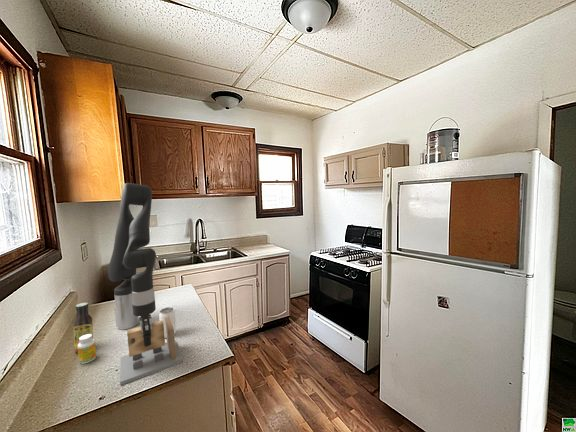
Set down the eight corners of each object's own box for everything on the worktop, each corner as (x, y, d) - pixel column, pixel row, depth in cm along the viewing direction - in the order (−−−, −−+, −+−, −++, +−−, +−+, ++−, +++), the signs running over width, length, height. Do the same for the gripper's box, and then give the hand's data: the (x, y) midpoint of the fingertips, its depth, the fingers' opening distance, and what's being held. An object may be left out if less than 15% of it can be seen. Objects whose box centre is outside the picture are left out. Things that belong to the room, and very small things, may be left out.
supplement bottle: (82, 365, 94) (79, 342, 93) (76, 361, 97) (74, 338, 96) (98, 357, 99) (96, 335, 98) (93, 353, 102) (90, 331, 101)
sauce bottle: (73, 355, 101) (67, 309, 99) (77, 347, 106) (72, 303, 105) (92, 350, 104) (88, 305, 102) (96, 342, 109) (91, 300, 108)
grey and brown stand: (120, 385, 84) (117, 349, 83) (121, 359, 97) (118, 328, 96) (182, 361, 95) (180, 329, 94) (175, 342, 108) (173, 313, 107)
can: (169, 339, 110) (168, 313, 109) (157, 338, 112) (155, 312, 111) (179, 331, 117) (177, 307, 116) (167, 330, 118) (165, 306, 117)
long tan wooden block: (129, 358, 90) (127, 335, 89) (129, 352, 93) (127, 330, 92) (165, 346, 96) (163, 324, 95) (164, 341, 100) (162, 320, 99)
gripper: (156, 304, 90) (160, 348, 91) (153, 292, 101) (156, 331, 103) (132, 310, 86) (137, 356, 87) (131, 297, 97) (135, 338, 99)
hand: (147, 343), depth 95 cm, fingers closed on long tan wooden block, 3 cm apart
